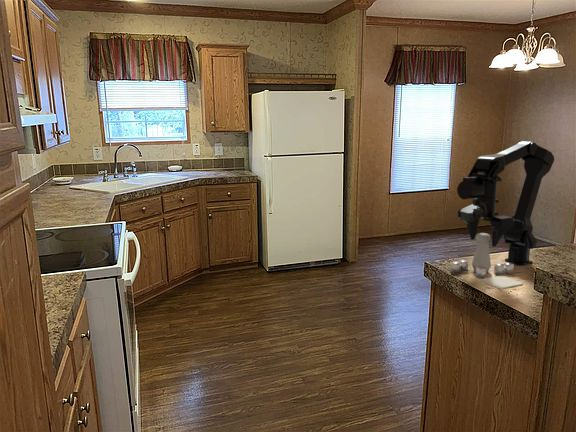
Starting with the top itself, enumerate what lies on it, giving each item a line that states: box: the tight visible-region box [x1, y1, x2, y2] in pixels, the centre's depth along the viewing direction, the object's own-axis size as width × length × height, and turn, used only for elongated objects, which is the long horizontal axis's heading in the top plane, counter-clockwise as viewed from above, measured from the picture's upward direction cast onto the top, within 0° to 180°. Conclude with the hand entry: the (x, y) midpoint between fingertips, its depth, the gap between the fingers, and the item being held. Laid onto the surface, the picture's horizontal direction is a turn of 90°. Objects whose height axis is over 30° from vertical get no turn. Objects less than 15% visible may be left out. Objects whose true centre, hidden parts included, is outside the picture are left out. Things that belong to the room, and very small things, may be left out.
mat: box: [479, 274, 524, 290], centre depth 141 cm, size 9×8×1 cm
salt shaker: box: [471, 232, 492, 274], centre depth 149 cm, size 6×6×13 cm
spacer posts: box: [450, 259, 515, 279], centre depth 150 cm, size 18×11×3 cm, turn 112°
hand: (483, 242), depth 149 cm, fingers open, 9 cm apart
